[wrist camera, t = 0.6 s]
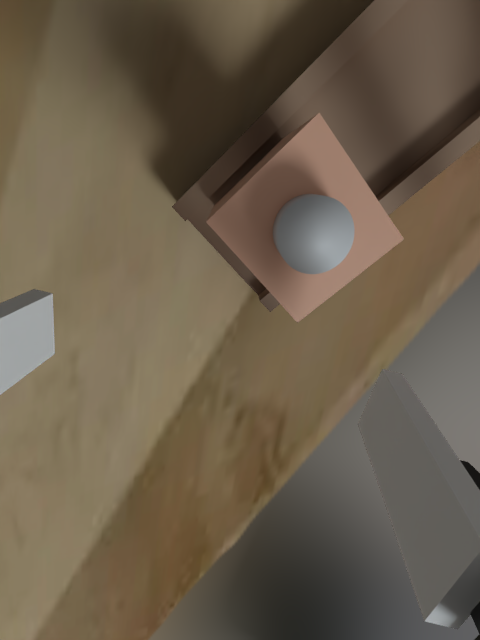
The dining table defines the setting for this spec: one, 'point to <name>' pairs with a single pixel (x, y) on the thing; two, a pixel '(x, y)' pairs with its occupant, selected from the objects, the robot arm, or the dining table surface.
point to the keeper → (304, 219)
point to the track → (370, 108)
